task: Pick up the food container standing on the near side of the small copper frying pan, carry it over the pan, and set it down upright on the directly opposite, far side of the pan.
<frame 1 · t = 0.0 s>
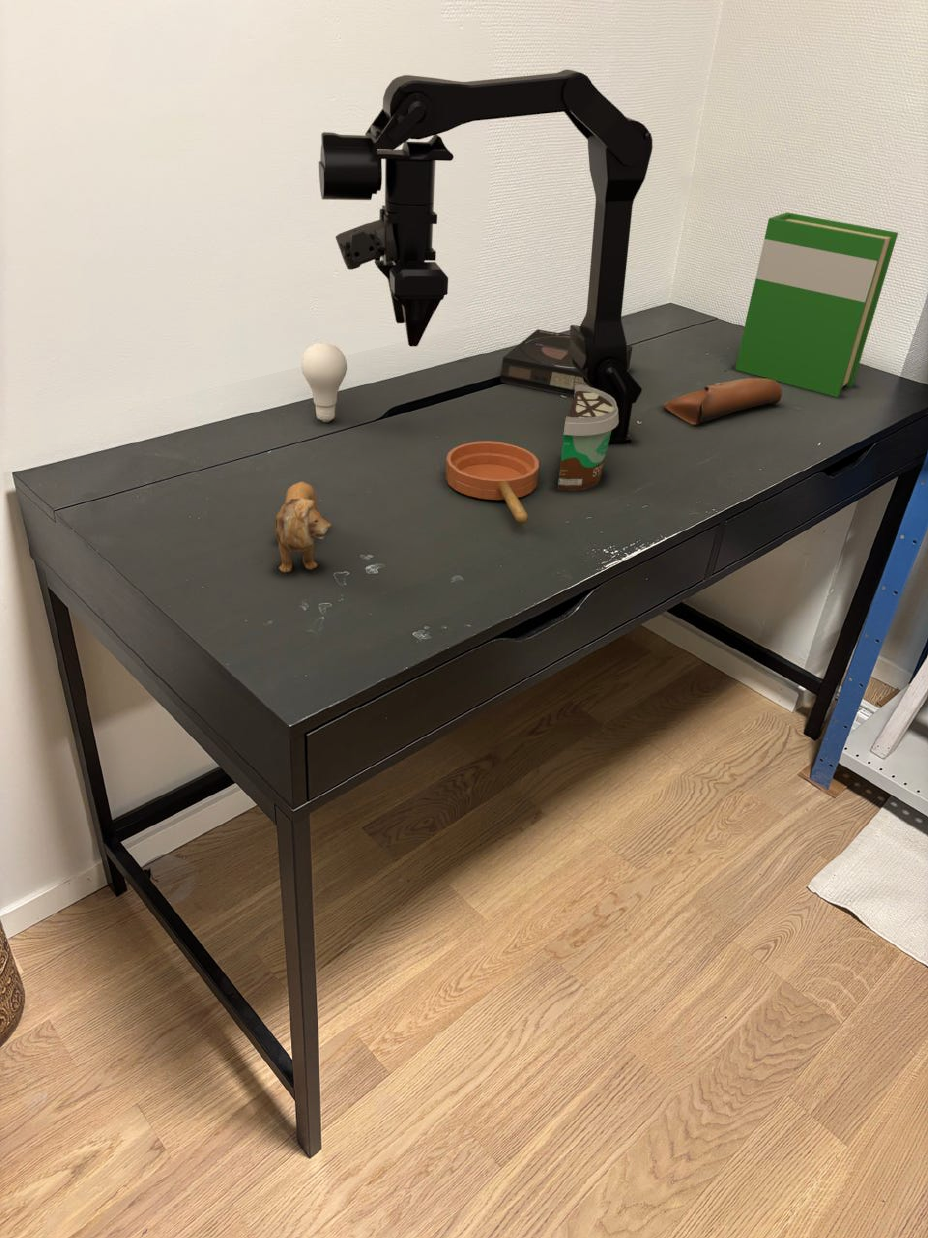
hand: (406, 333, 119), 15 cm above the table, tool pointing down, fingers open, 9 cm apart
lion figurine: (304, 556, 101), on the table
pan handle: (512, 501, 110), point 2 cm above the table
hardback book: (792, 378, 158), on the table
lightbulb: (325, 422, 131), on the table
pan: (491, 482, 118), on the table
food container: (585, 478, 121), on the table
portable cd player: (565, 377, 152), on the table
sunglasses case: (720, 409, 144), on the table
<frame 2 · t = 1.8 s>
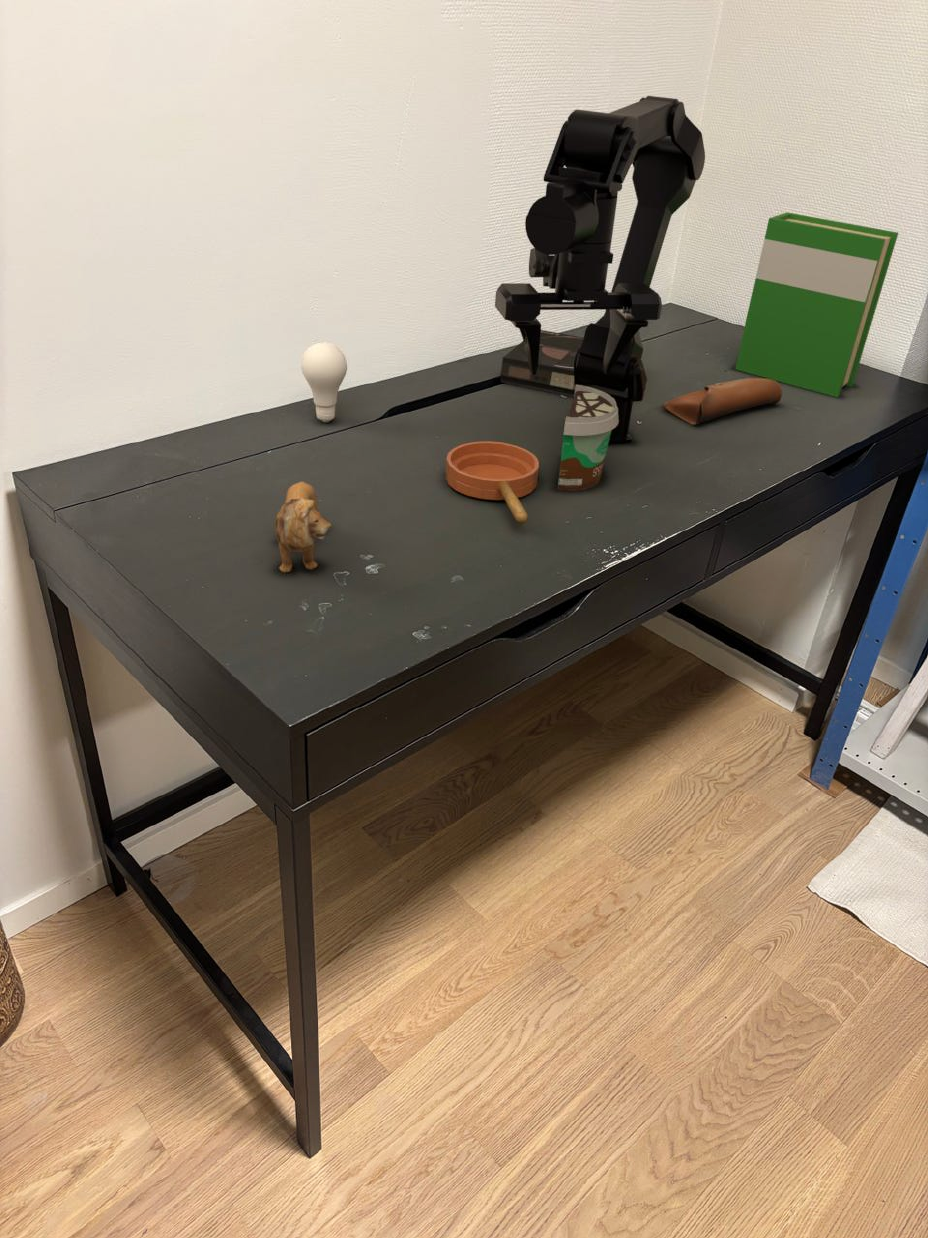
hand: (569, 373, 115), 13 cm above the table, tool pointing down, fingers open, 9 cm apart
nothing on the table moved.
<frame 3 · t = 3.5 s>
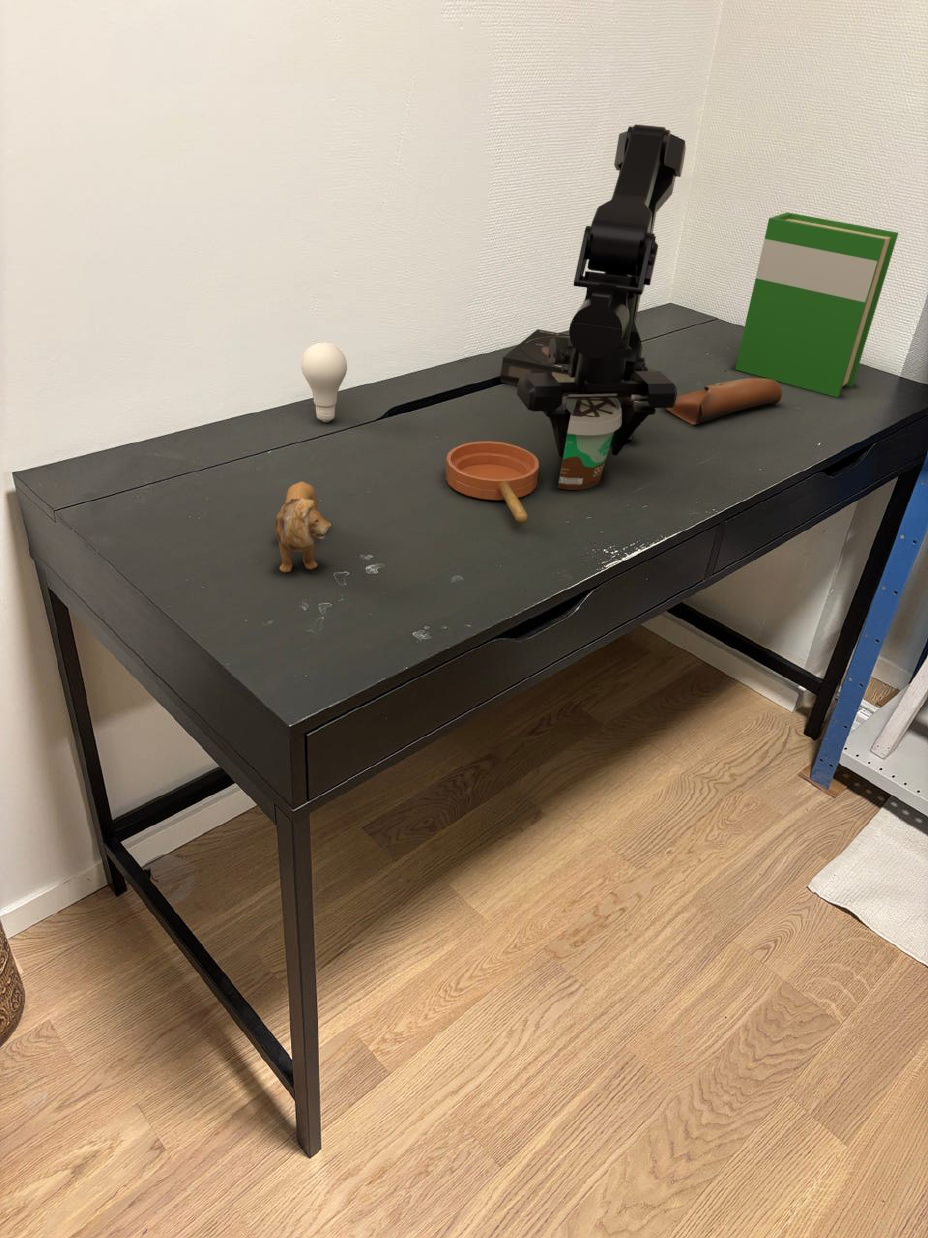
hand: (587, 455, 119), 3 cm above the table, tool pointing down, fingers closed on food container, 7 cm apart
food container: (585, 478, 121), on the table, touching gripper
everything else where it was.
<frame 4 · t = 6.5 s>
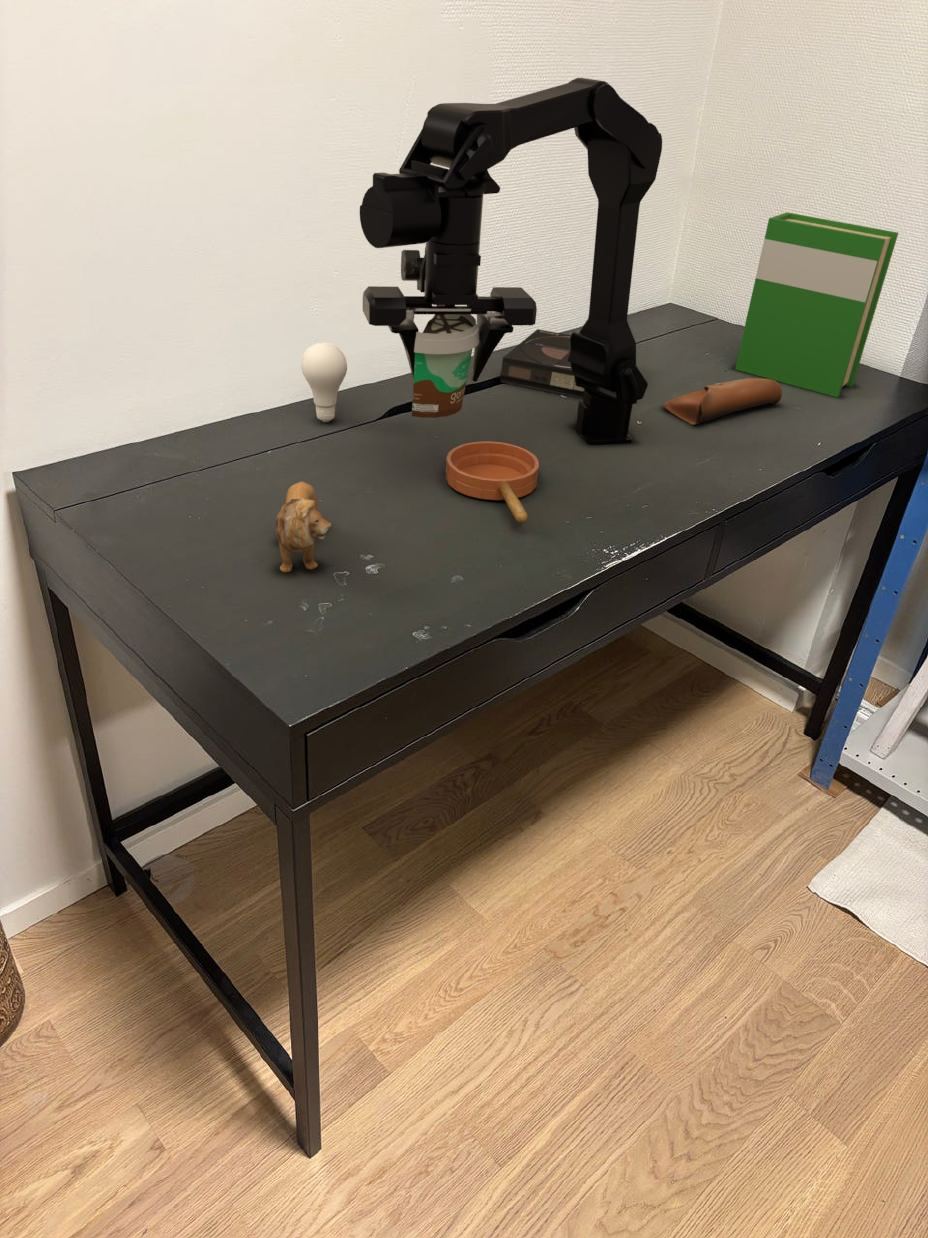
hand: (445, 380, 109), 13 cm above the table, tool pointing down, fingers closed on food container, 6 cm apart
food container: (445, 407, 111), point 10 cm above the table, touching gripper
everything else where it was.
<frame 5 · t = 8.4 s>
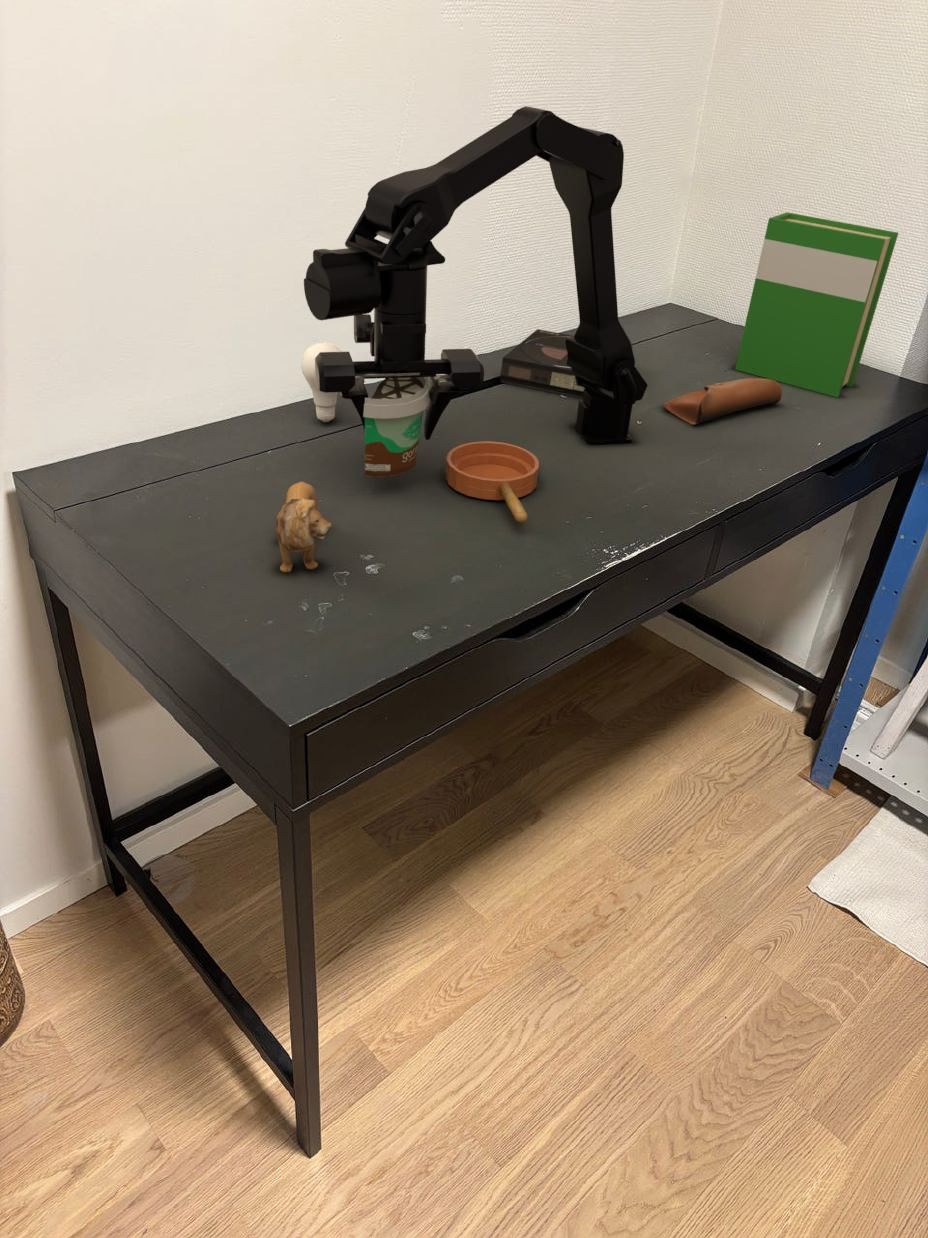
hand: (398, 439, 113), 6 cm above the table, tool pointing down, fingers closed on food container, 6 cm apart
food container: (399, 464, 114), point 3 cm above the table, touching gripper
everything else where it was.
when the fingers open (3 cm above the table, at t = 9.7 s): food container stays where it is, on the table.
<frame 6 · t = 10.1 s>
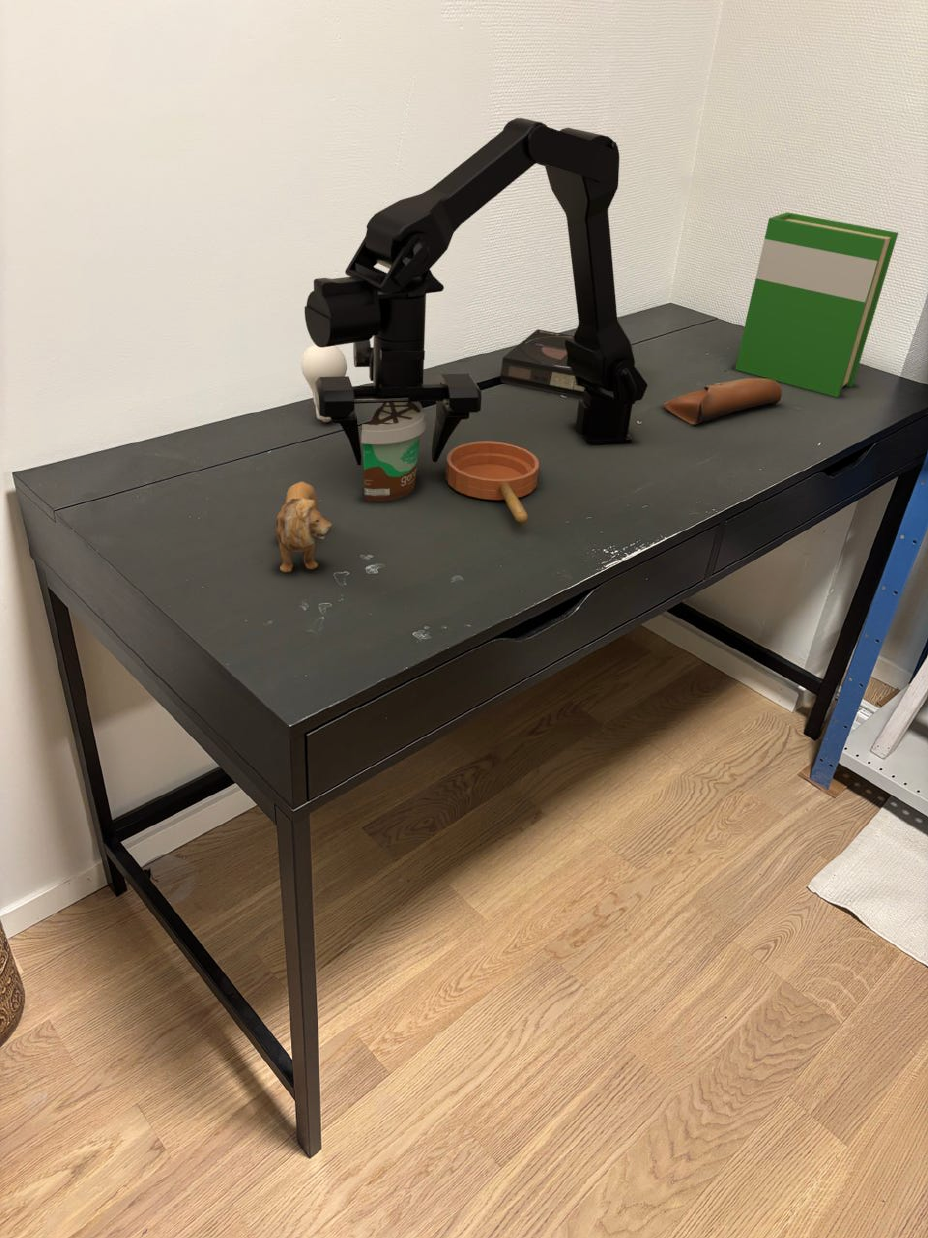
hand: (396, 462, 114), 3 cm above the table, tool pointing down, fingers open, 9 cm apart
food container: (398, 488, 116), on the table
everything else where it was.
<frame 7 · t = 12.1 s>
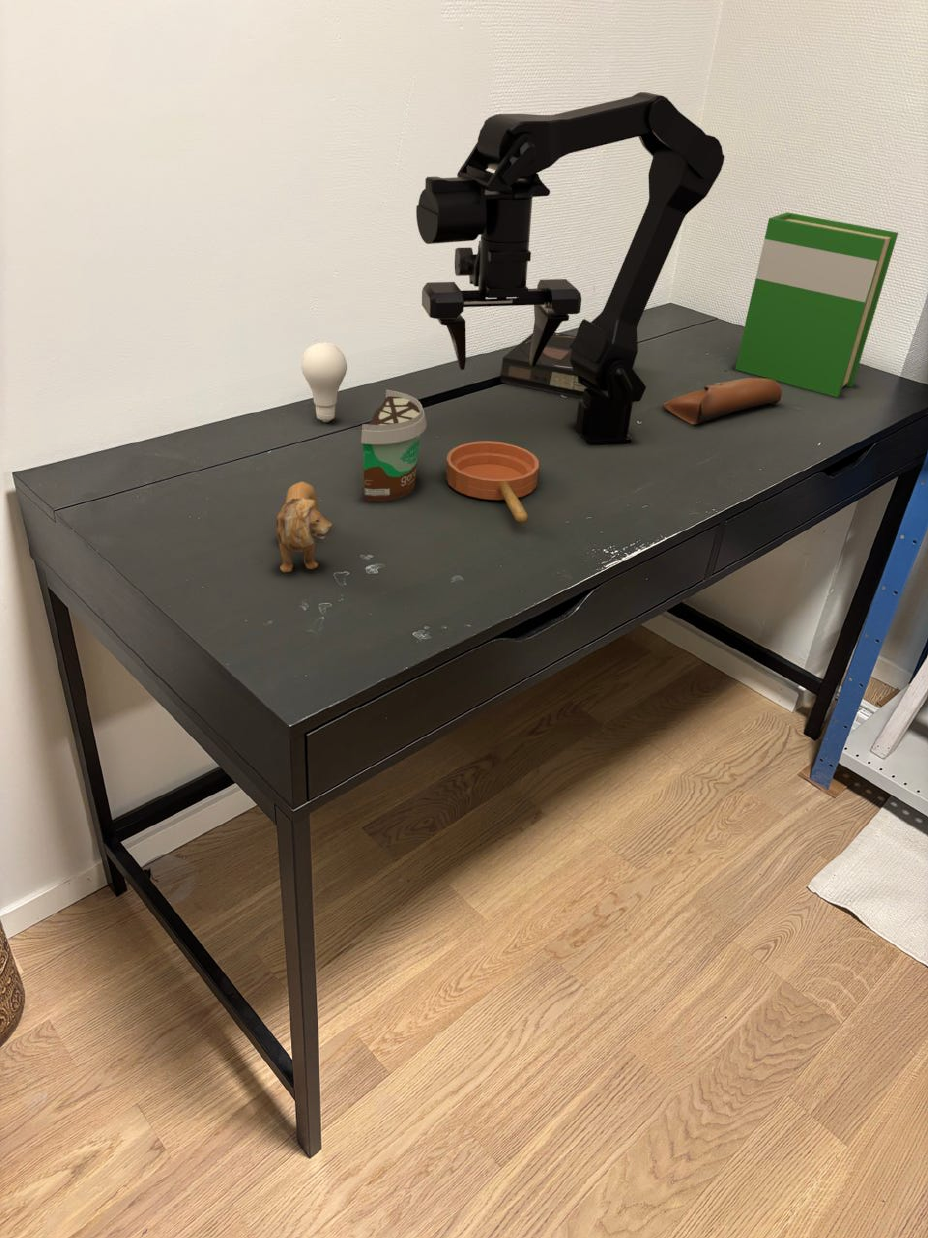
hand: (497, 367, 119), 12 cm above the table, tool pointing down, fingers open, 9 cm apart
nothing on the table moved.
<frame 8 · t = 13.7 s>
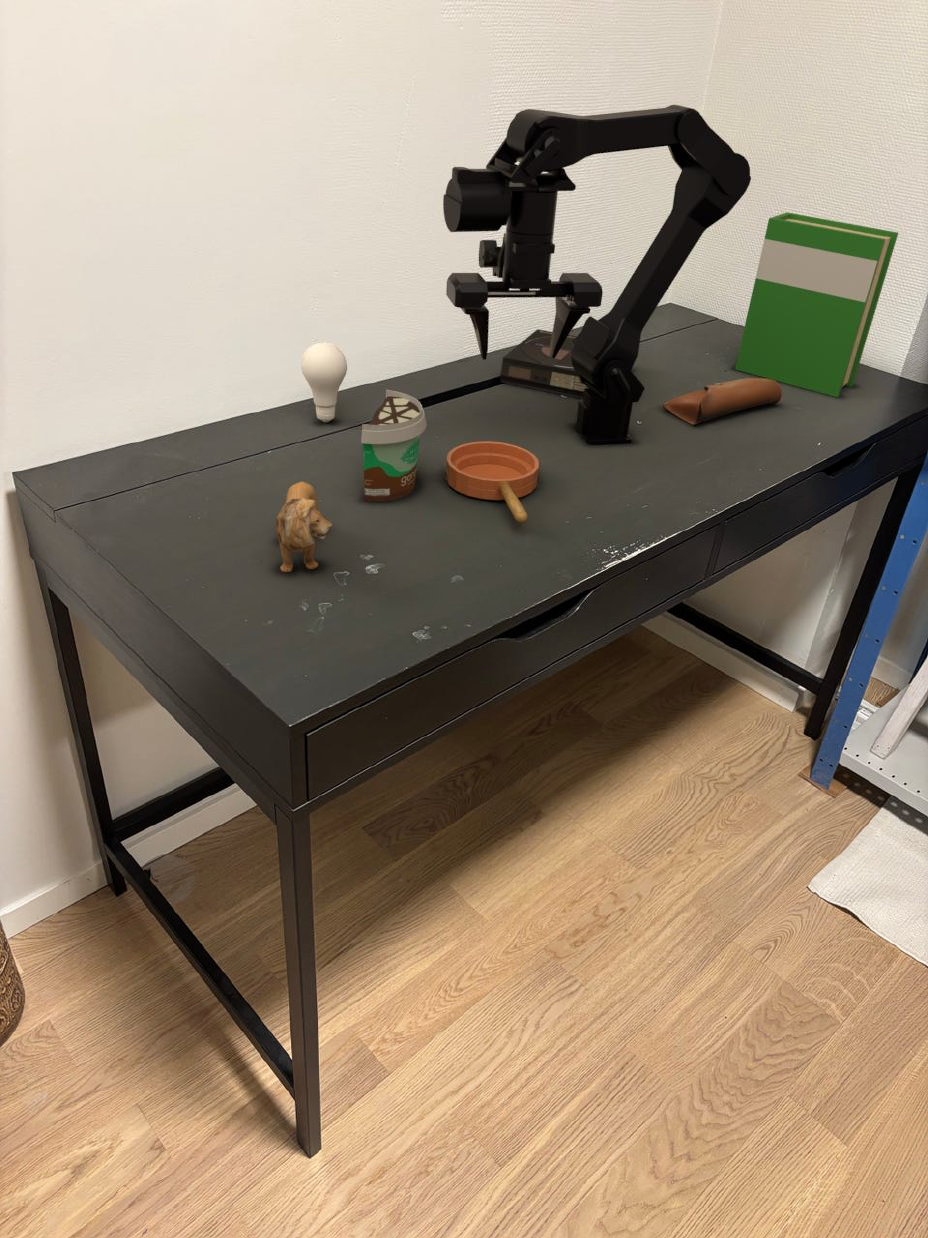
hand: (518, 357, 122), 12 cm above the table, tool pointing down, fingers open, 9 cm apart
nothing on the table moved.
at the end: food container 0.3 cm from the target spot on the table beside the pan, on the table; food container tilted 0°; the gripper is holding nothing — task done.
